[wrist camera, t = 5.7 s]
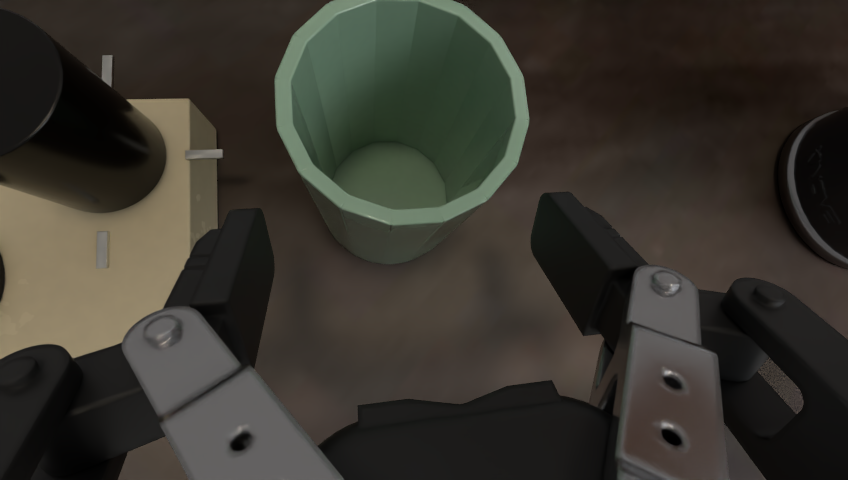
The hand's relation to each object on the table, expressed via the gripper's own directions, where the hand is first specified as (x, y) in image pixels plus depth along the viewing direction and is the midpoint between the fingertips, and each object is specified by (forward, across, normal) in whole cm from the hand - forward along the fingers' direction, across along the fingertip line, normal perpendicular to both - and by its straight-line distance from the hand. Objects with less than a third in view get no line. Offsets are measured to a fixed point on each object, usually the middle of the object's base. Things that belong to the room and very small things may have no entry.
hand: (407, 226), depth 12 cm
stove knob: (+7, +11, 0) cm, 13 cm away
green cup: (+8, 0, +4) cm, 8 cm away
